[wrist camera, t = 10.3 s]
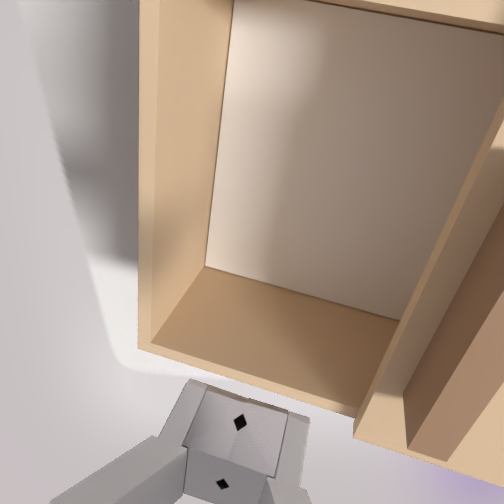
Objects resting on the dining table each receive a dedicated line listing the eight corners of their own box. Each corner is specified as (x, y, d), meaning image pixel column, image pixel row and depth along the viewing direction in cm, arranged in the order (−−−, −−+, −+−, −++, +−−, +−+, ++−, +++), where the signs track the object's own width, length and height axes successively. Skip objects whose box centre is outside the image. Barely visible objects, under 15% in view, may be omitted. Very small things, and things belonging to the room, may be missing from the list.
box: (227, -33, 22) (139, -67, 14) (621, 34, 19) (809, 42, 11) (197, 265, 33) (137, 348, 24) (450, 337, 30) (480, 458, 21)
